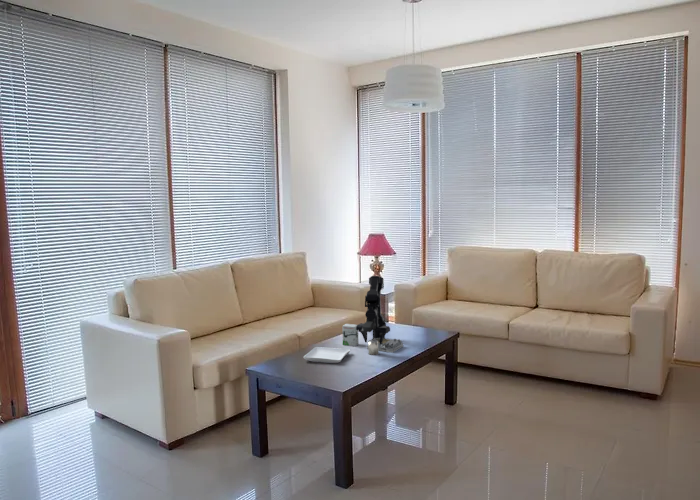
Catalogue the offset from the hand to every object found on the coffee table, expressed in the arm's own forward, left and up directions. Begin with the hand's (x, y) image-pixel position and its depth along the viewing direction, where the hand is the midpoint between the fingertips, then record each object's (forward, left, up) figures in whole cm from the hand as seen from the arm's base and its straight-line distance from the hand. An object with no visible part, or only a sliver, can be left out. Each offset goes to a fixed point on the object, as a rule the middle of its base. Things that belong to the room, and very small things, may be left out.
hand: (373, 343), depth 301 cm
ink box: (-21, +11, -6) cm, 24 cm away
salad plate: (-19, -18, -6) cm, 27 cm away
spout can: (0, 0, -6) cm, 6 cm away
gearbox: (+1, +13, -6) cm, 14 cm away
